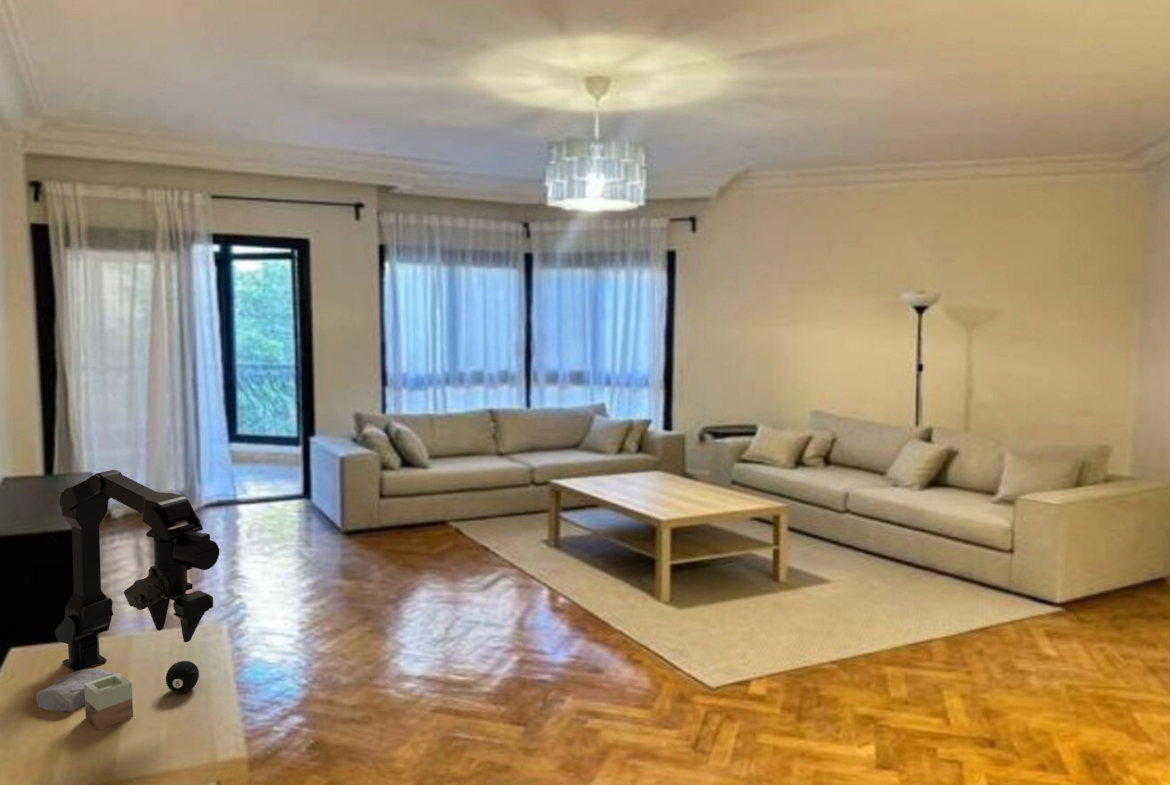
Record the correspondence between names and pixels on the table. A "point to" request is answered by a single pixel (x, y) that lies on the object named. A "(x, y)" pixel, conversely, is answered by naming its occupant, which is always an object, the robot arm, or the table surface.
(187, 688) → the billiard ball
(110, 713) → the tower base
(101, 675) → the stone block
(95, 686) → the tower cap
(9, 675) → the table surface
